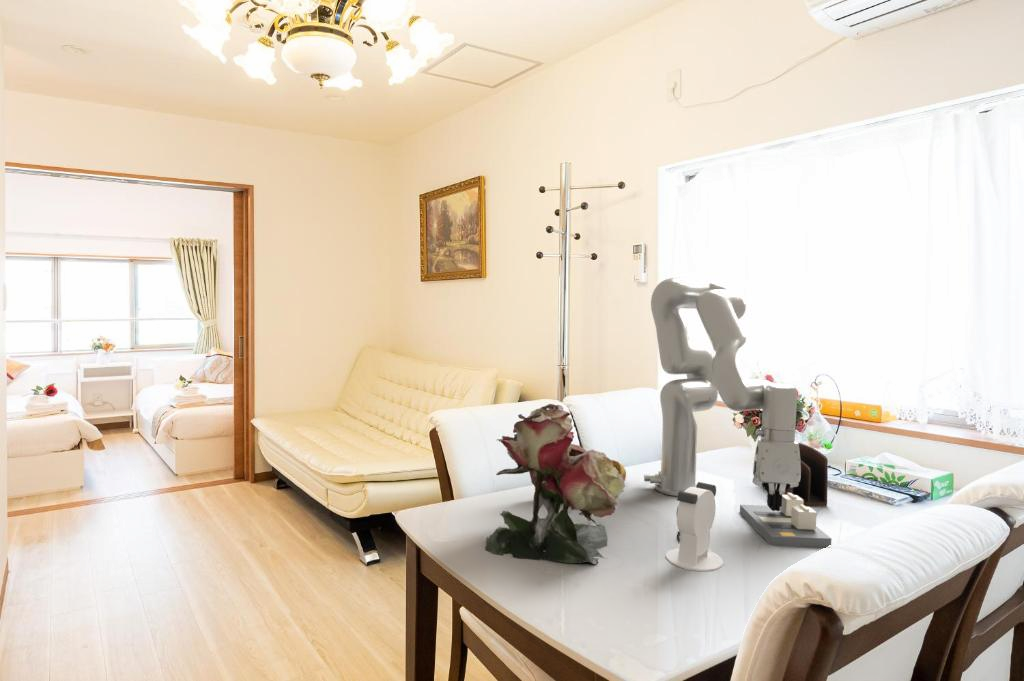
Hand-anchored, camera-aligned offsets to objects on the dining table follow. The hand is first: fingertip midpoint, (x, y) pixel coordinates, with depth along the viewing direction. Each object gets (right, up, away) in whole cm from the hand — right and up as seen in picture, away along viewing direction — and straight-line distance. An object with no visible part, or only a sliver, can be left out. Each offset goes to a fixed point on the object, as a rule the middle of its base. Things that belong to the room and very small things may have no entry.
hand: (774, 509), depth 156 cm
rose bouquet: (-54, -3, -14) cm, 56 cm away
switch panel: (0, -4, -4) cm, 6 cm away
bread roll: (-37, -1, +32) cm, 49 cm away
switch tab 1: (+4, -1, 0) cm, 4 cm away
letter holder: (+15, -3, +23) cm, 28 cm away
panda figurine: (-26, -4, -24) cm, 36 cm away
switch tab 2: (+3, -2, -9) cm, 10 cm away
